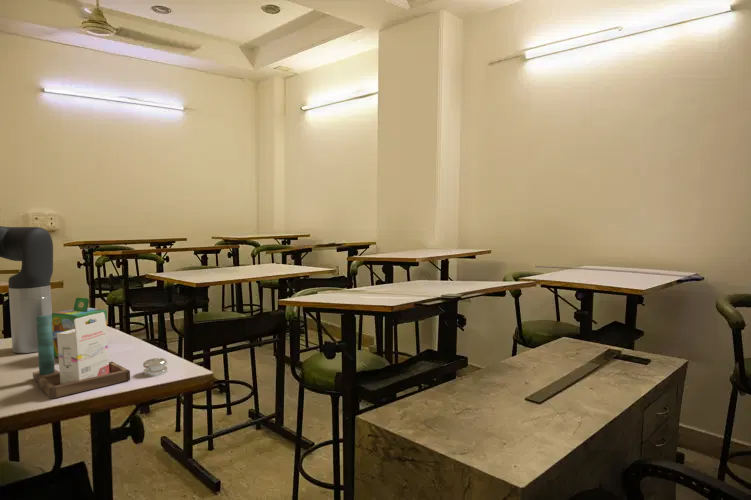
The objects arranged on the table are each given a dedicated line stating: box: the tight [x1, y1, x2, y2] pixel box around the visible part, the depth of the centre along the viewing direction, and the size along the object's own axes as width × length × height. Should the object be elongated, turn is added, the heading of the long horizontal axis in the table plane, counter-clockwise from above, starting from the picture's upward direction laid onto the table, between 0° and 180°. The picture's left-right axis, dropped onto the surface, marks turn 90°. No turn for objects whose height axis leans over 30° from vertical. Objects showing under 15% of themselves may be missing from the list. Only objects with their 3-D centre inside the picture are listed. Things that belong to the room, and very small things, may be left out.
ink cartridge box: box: [57, 312, 110, 385], centre depth 104 cm, size 9×5×15 cm, turn 167°
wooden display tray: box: [32, 315, 131, 399], centre depth 106 cm, size 18×15×14 cm
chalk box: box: [52, 297, 108, 358], centre depth 126 cm, size 9×9×15 cm
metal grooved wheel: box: [142, 357, 168, 377], centre depth 111 cm, size 5×3×5 cm
